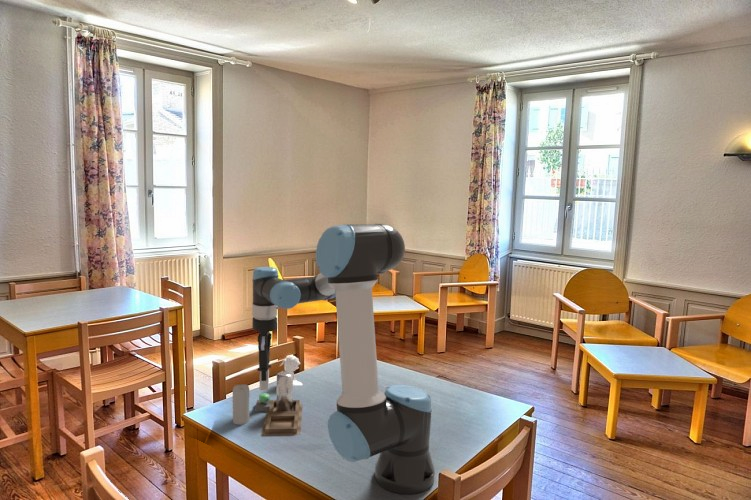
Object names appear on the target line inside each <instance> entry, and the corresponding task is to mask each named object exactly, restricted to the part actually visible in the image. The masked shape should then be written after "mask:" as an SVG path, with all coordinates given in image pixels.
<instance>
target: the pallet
mask: <svg viewBox="0 0 751 500" xmlns="http://www.w3.org/2000/svg"><path fill="white" fill-rule="evenodd" d="M276 402H277V399H275V400H274V399H270V400H269V401H267V402H260V401H259V399H257V400H256V403H255V408H254V409H255V411H254V412H266V413H265V417H264V421H263V426H262V431H261V436H283V435H285V436H287V435H288V436H289V435H291V436H293V435H301V433H302V418H303V417H302V415H303V403H300V399H293V411H277V412H276Z"/></svg>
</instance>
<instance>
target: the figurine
mask: <svg viewBox="0 0 751 500" xmlns="http://www.w3.org/2000/svg"><path fill="white" fill-rule="evenodd" d="M282 365H283V366H284V367H283V368H284V370H281V372H284V371H287V372H291V373H293V386H303V383H302V382H301V381H299V380H297V379H296V375H295V373H294V372H295V371H296V370H298V369H299V368H300V367H299V366H300V365H301V362H300V359H299V357H296V356H295V355H287V356H286V357H285V358H283V360H282V362H281V364H280V365H279V367H281V366H282Z"/></svg>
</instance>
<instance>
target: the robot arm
mask: <svg viewBox="0 0 751 500" xmlns="http://www.w3.org/2000/svg"><path fill="white" fill-rule="evenodd" d="M405 252H406V244H405V241H404V238H403V236H402V235H401V233H400V232H399V231H398V230H397V229H396V228H394V227H392V226H390V225H388V224H384V223H371V224H370V223H369V224H368V223H366V224H364V223H363V224H362V223H361V224H359V223H357V224H355V223H354V224H347V223H346V224H345V223H344V224H339V225H334V226H330V227H328V228H326V229H325V230H324V231H323V232H322V233H321V236H320V237H319V239H318V242H317V244H316V250H315V263H316V265H317V268H318V271H319V273H318V274H316V275H313V276H308V277H300V278H289V279H282V278H279V271H278V269H277V267H273V266H259V267H256V268H254V269H253V271H252V279H251V280H252V305H251V306H252V308H251V309H252V312H251V313H252V323H251V324H252V330H253V331H255V332H259V333H258V336H257V342H258V344H257V347H258V368H257V369H256V370H257V371H258V372H259V390H260V391H268V390H269V388H270V387H269V386H270V384H269V383H270V381H269V379H270V368H272V365H271V364H270V352H271V351H270V350H271V349H270V348H271V345H272V341H271V340H272V338H273V337H272V336H273V334H272V333H271V332H274V331H276V330H277V328H278V318H277V317H278V310H280V308H281V309H285V310H288V309H289V310H290V309H293V308H294V307H296V306H297V305H299V304H305V303H311V302H319V301H328V300H331V299H334V298H335V306H336V321H337V335H338V337H337V338H338V347H339V349H338V350H339V362H340V363H339V364H340V376H341V377H340V378H341V379H340V380H341V394H340V395H339V396H338V398H337V399H336V402H335V403H336V411H334V412H333V413H331V414H330V415H329V418H328V420H327V431H328V435H329V438H330V442H331V443H332V446H333V447H334V449H335V450H336V452H337V454H338V455H339V456H340V457H341V458H342V459H343V460H345V461H347V462H351V463H356V462H359V461H362V460H363V461H364V460H367V459H370V458H371V457H373V456H376V455H378V454H379V455H378V457H377V460H376V463H375V466H374V468H375V469H374V477H375V480H376V482H377V483H378V484H379V485H380V486H381V487H382V488H383V489H386V490H387V491H390V492H392V493H396V494H402V495H405V494H406V495H413V494H415V495H416V494H419V493H422V492H425V491H427V490H428V489H430V488H431V487H432V486H433V484H434V482H435V473H436V472H435V467H434V463H433V460H432V455H431V452H430V435H431V423H432V422H431V421H432V398H431V396H430V394H429V393H428V392H427V391H425V390H424V389H421V388H419V387H416V386H413V385H407V384H392V385H388V386H387V387H386V388H385V391H384V392H382V391H381V390H380V389H379V387H380V386H379V385H380V384H379V374H378V373H379V372H378V358H377V357H378V356H377V344H376V330H375V329H376V328H375V316H374V315H375V313H374V303H373V302H374V301H373V291H372V290H373V287H374V286H375V284H377V282H378V281H379V279H378V275H381V274H384V273H387V272H388V271H391V270H393V269H395V268H396V267H398V266H399V265H400V263H402V261H403V258H404V256H405Z"/></svg>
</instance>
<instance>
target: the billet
mask: <svg viewBox="0 0 751 500" xmlns="http://www.w3.org/2000/svg"><path fill="white" fill-rule="evenodd" d="M293 380H294V379H293V373H291V372H287V371H285V370H283V372H282V371H280V372H277V373H276V400H277V402H276V412H277V411H293V400H294V398H293V397H294V396H293V395H294V394H293V393H294V385H293Z"/></svg>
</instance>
